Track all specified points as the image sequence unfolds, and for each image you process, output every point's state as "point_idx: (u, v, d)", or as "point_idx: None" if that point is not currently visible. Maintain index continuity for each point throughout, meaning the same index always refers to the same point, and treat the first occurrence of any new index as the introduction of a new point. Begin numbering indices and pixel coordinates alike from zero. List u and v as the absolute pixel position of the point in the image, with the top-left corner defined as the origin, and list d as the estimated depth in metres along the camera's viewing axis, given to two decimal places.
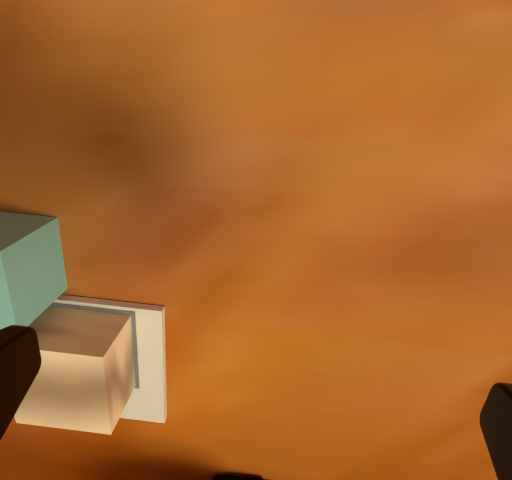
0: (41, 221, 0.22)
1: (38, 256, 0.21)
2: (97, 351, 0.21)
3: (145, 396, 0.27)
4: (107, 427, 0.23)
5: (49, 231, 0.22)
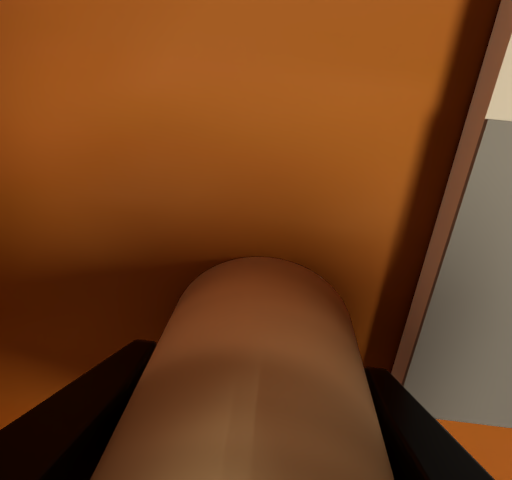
0: None
1: None
2: None
3: None
4: None
5: None
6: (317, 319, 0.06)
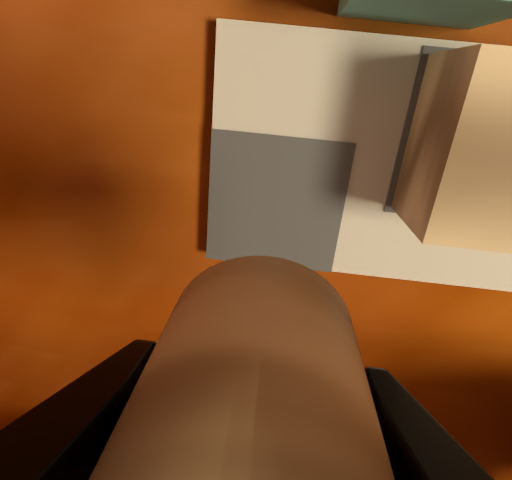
0: None
1: None
2: None
3: None
4: None
5: None
6: (317, 318, 0.06)
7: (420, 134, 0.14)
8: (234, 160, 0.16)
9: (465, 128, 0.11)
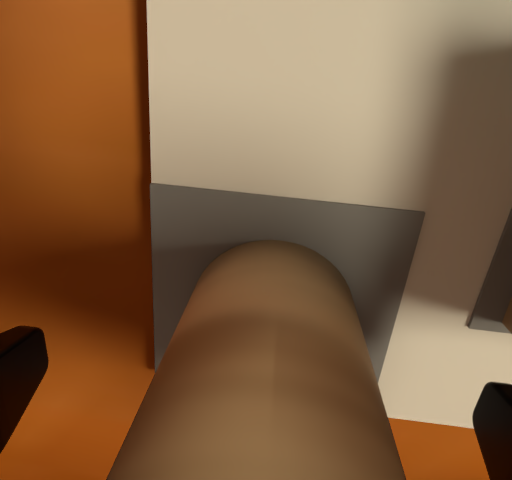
0: None
1: None
2: None
3: None
4: None
5: None
6: (323, 290, 0.07)
7: None
8: (195, 238, 0.09)
9: None
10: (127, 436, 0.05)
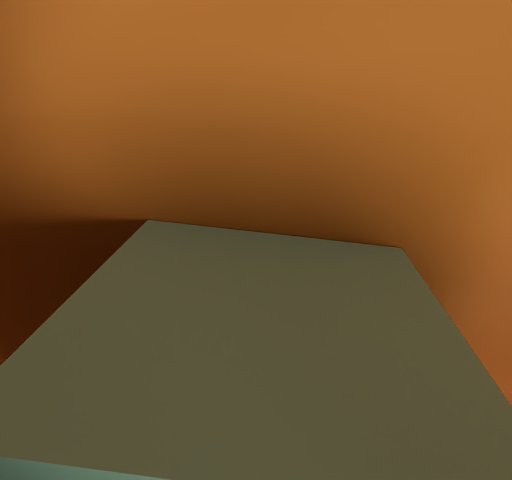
0: (387, 265, 0.06)
1: None
2: None
3: None
4: None
5: None
6: None
7: None
8: None
9: None
10: None
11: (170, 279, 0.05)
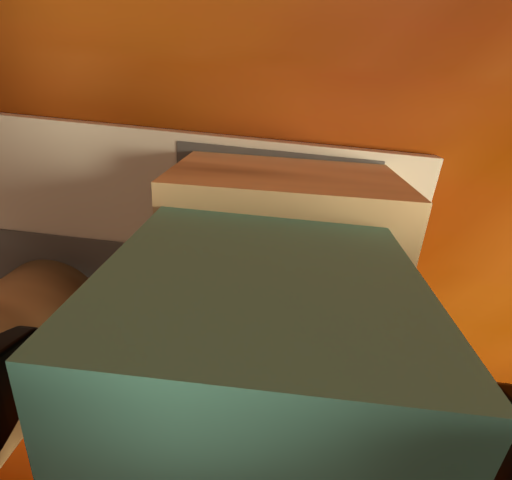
0: (373, 242, 0.07)
1: None
2: (404, 196, 0.08)
3: None
4: None
5: None
6: (47, 290, 0.12)
7: None
8: (0, 258, 0.14)
9: None
10: None
11: (184, 252, 0.06)
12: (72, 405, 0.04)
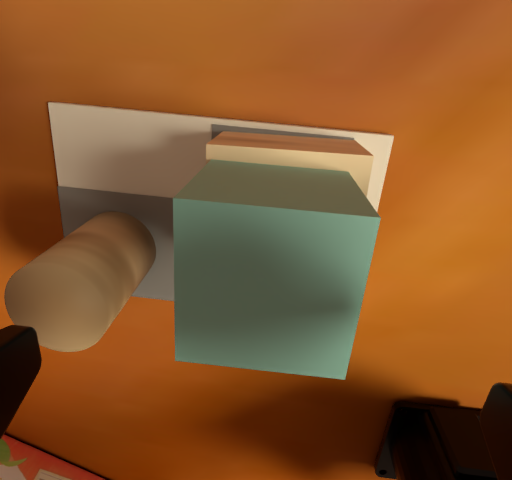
0: (337, 176, 0.13)
1: None
2: (358, 153, 0.13)
3: None
4: None
5: None
6: (121, 229, 0.18)
7: None
8: (80, 211, 0.19)
9: None
10: None
11: (232, 175, 0.12)
12: (198, 219, 0.09)
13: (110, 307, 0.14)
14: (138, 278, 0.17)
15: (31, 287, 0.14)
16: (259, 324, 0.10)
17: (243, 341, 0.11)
